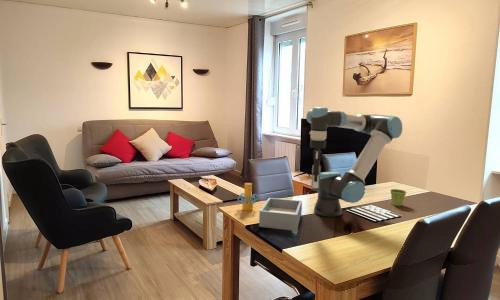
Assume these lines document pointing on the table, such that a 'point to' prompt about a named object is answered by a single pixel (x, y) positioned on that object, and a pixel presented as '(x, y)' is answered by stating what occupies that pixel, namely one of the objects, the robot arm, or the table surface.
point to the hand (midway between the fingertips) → (315, 186)
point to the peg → (318, 181)
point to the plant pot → (397, 196)
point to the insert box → (280, 214)
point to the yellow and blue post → (248, 198)
